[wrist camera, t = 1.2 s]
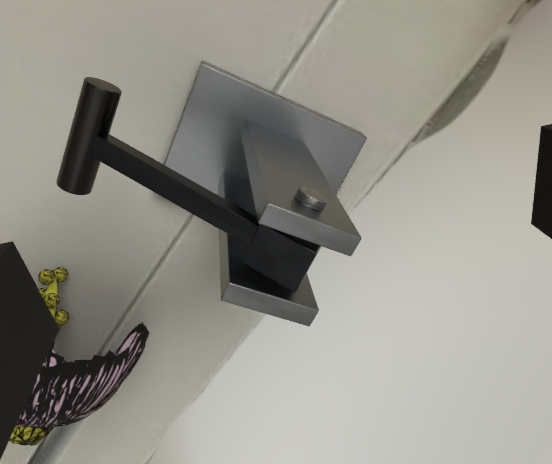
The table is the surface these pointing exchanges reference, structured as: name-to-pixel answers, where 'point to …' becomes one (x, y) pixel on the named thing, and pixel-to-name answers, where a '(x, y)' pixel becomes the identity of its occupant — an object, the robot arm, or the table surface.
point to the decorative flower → (73, 377)
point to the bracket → (266, 178)
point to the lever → (172, 187)
